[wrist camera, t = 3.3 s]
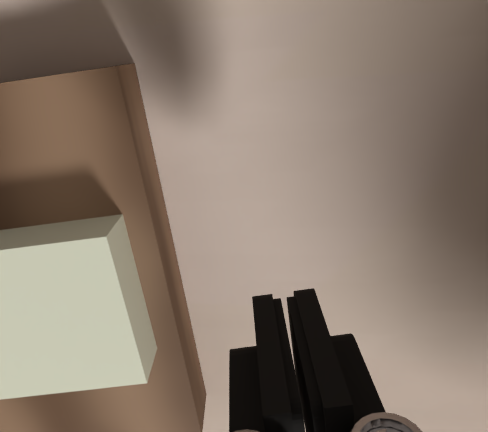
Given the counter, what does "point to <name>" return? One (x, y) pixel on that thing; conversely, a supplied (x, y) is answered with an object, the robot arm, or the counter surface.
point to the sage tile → (71, 309)
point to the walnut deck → (92, 206)
